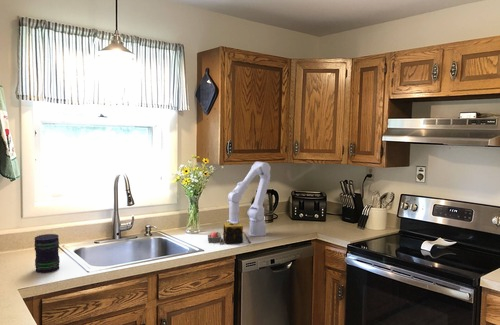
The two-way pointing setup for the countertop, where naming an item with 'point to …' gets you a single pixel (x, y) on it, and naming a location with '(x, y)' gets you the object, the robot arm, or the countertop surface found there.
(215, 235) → the dome
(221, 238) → the track
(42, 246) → the storage jar
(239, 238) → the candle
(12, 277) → the countertop surface
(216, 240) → the button box
